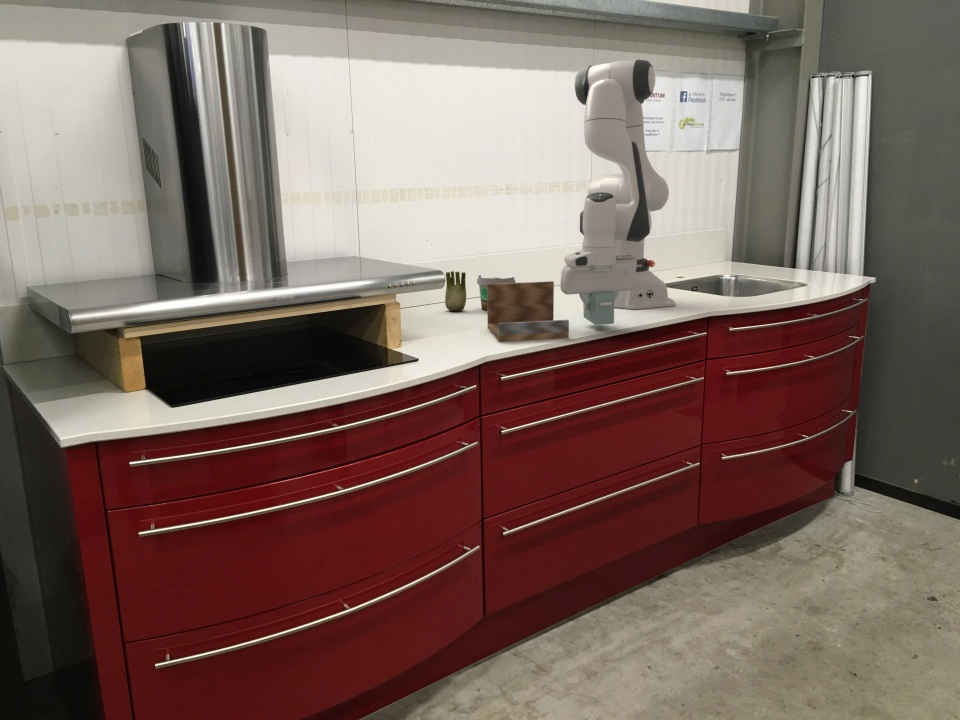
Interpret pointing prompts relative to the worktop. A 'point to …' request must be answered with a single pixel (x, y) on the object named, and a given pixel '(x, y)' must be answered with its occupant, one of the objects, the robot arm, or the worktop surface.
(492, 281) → the food container
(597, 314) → the mini cabinet
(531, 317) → the wooden l-shaped stand
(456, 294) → the fennel bulb
